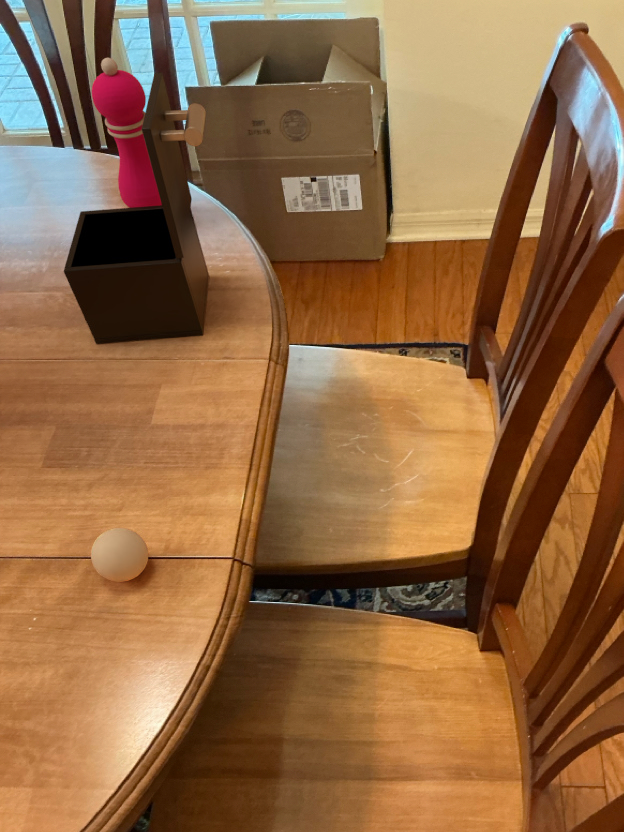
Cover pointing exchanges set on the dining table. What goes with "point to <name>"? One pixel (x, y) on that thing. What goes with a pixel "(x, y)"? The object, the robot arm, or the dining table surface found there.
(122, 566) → the paper ball
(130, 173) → the pepper mill
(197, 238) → the waste bin
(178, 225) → the bin lid
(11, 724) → the dining table surface
